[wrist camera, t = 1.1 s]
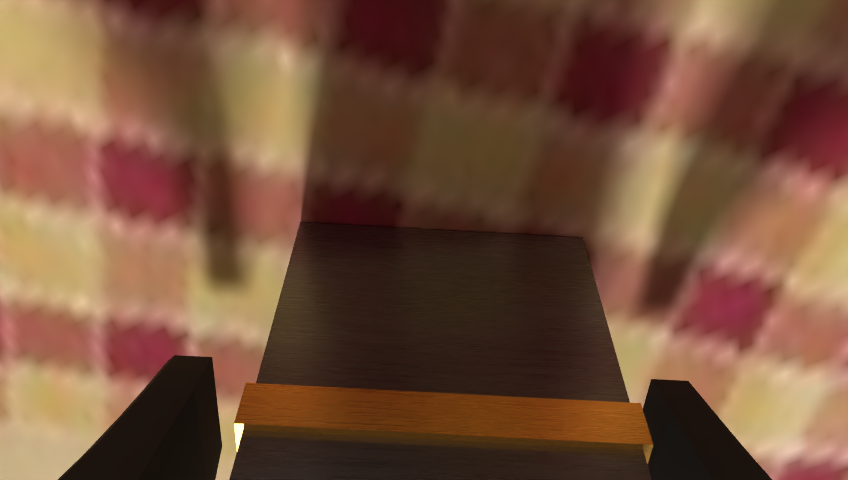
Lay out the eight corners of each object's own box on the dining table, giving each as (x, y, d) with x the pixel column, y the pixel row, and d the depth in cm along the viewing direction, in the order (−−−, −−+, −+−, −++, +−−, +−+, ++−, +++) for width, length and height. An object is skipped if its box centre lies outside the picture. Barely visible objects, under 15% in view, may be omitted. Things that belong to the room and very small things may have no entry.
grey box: (589, 233, 14) (680, 532, 9) (548, 440, 16) (598, 762, 11) (294, 216, 13) (209, 510, 8) (301, 428, 16) (240, 746, 11)
